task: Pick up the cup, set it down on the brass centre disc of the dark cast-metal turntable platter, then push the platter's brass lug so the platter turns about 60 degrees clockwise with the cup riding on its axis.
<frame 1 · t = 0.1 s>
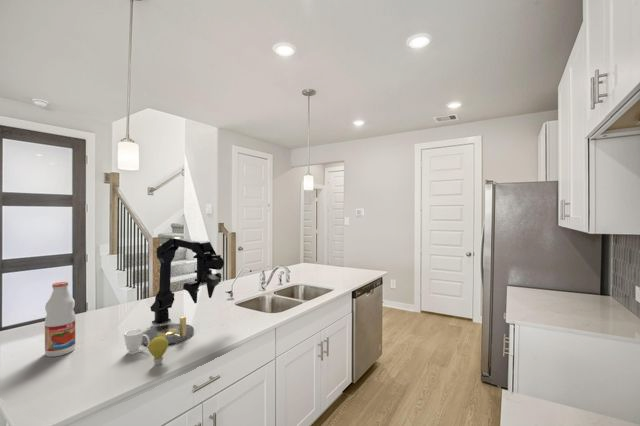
hand: (202, 300, 144), 15 cm above the worktop, fingers open, 9 cm apart
cup: (137, 352, 123), on the worktop
fruit juice: (60, 352, 122), on the worktop
turntable: (167, 324, 138), point 5 cm above the worktop, hinge at 0.0°
light bulb: (158, 364, 113), on the worktop
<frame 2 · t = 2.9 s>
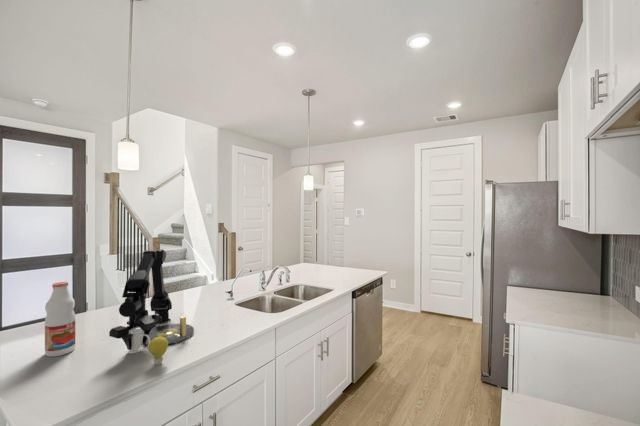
hand: (137, 346, 122), 2 cm above the worktop, fingers closed on cup, 6 cm apart
cup: (137, 351, 122), on the worktop, touching gripper
everything else where it was.
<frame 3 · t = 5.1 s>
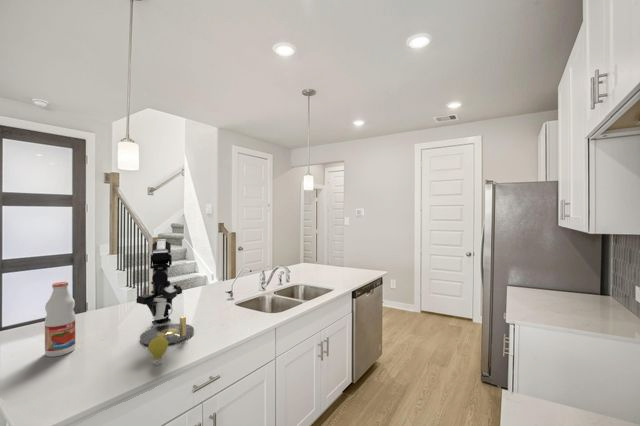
hand: (160, 313, 134), 11 cm above the worktop, fingers closed on cup, 6 cm apart
cup: (161, 318, 134), point 9 cm above the worktop, touching gripper
everything else where it was.
when the fingers open (5 cm above the worktop, at t = 7.2 s): cup drops 1 cm, resting on turntable.
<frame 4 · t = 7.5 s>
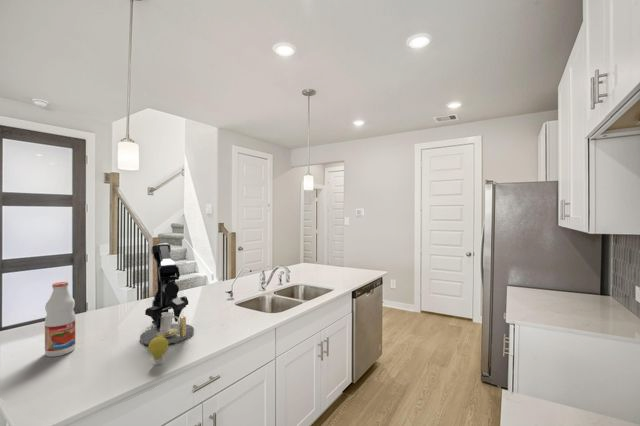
hand: (167, 325, 138), 5 cm above the worktop, fingers open, 9 cm apart
cup: (168, 332, 139), point 1 cm above the worktop, touching turntable
turntable: (167, 324, 138), point 5 cm above the worktop, hinge at 0.0°, touching cup
everything else where it was.
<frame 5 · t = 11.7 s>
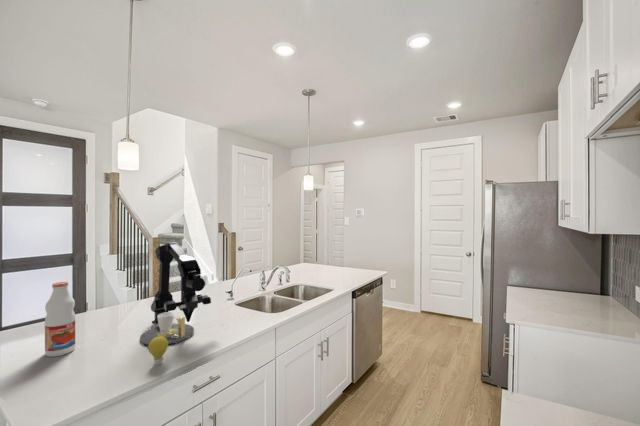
hand: (188, 321, 135), 8 cm above the worktop, fingers closed
turntable: (167, 324, 138), point 5 cm above the worktop, hinge at -3.8°, touching cup, gripper
everything else where it was.
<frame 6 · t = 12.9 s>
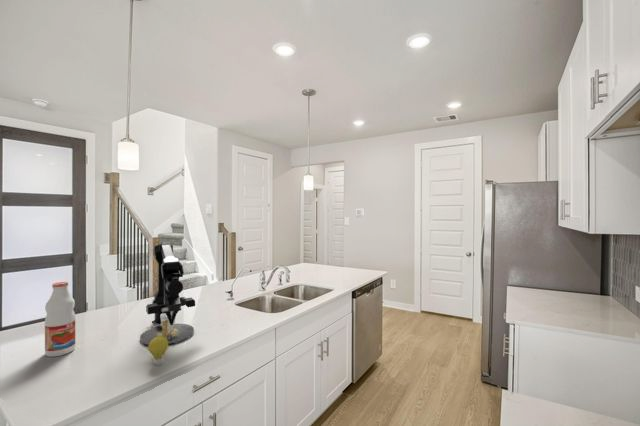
hand: (171, 324, 131), 8 cm above the worktop, fingers closed
turntable: (167, 324, 138), point 5 cm above the worktop, hinge at -46.8°, touching cup, gripper
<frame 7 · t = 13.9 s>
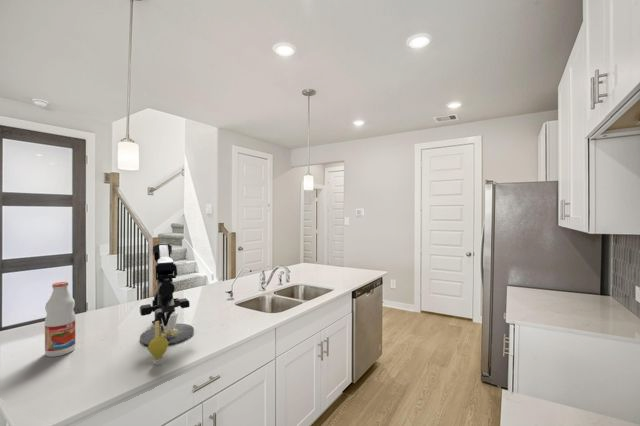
hand: (165, 326, 130), 8 cm above the worktop, fingers closed
turntable: (167, 324, 138), point 5 cm above the worktop, hinge at -63.6°, touching cup, gripper
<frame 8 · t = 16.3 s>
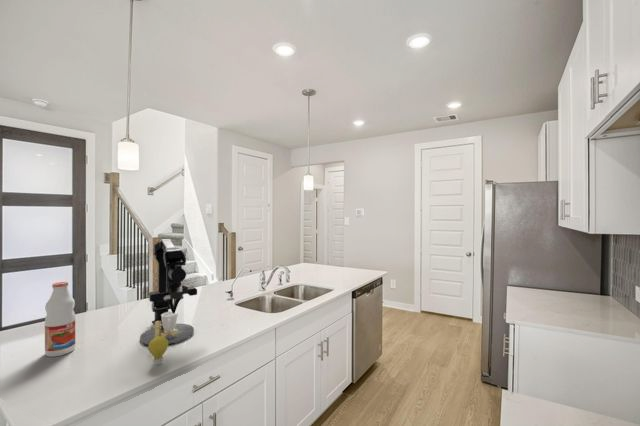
hand: (173, 313, 132), 12 cm above the worktop, fingers closed
turntable: (167, 324, 138), point 5 cm above the worktop, hinge at -63.7°, touching cup
at the end: cup 0.6 cm from the turntable (horizontally); turntable at -64° (first picture: +0°); cup tilted 0° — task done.
